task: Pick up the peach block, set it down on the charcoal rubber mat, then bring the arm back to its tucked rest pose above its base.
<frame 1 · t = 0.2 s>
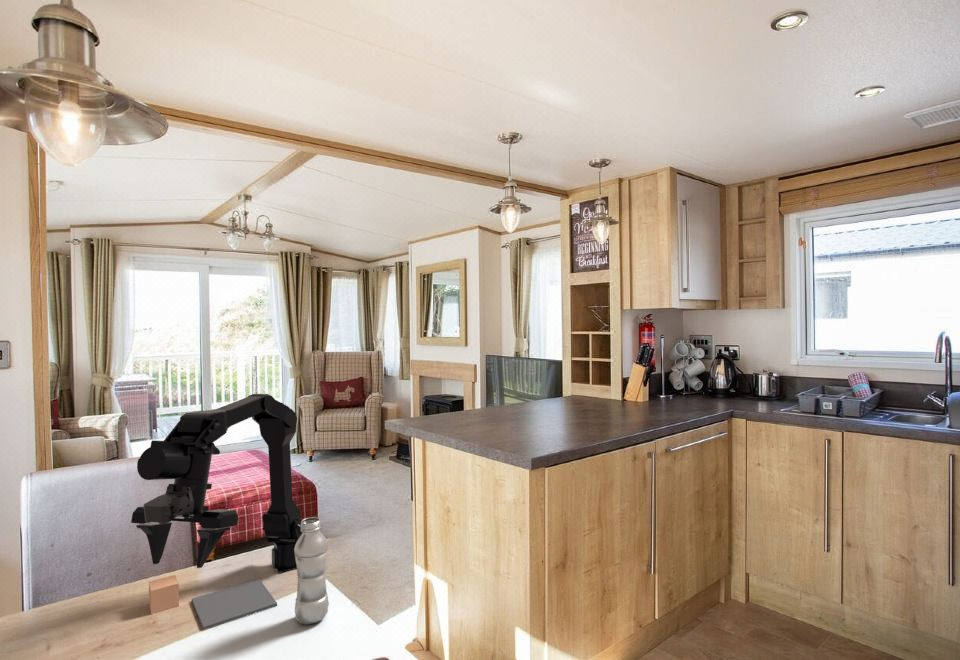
hand: (177, 565, 96), 15 cm above the table, tool pointing down, fingers open, 9 cm apart
charcoal mat: (233, 603, 111), on the table
peach block: (163, 605, 111), on the table
plastic bottle: (312, 620, 105), on the table
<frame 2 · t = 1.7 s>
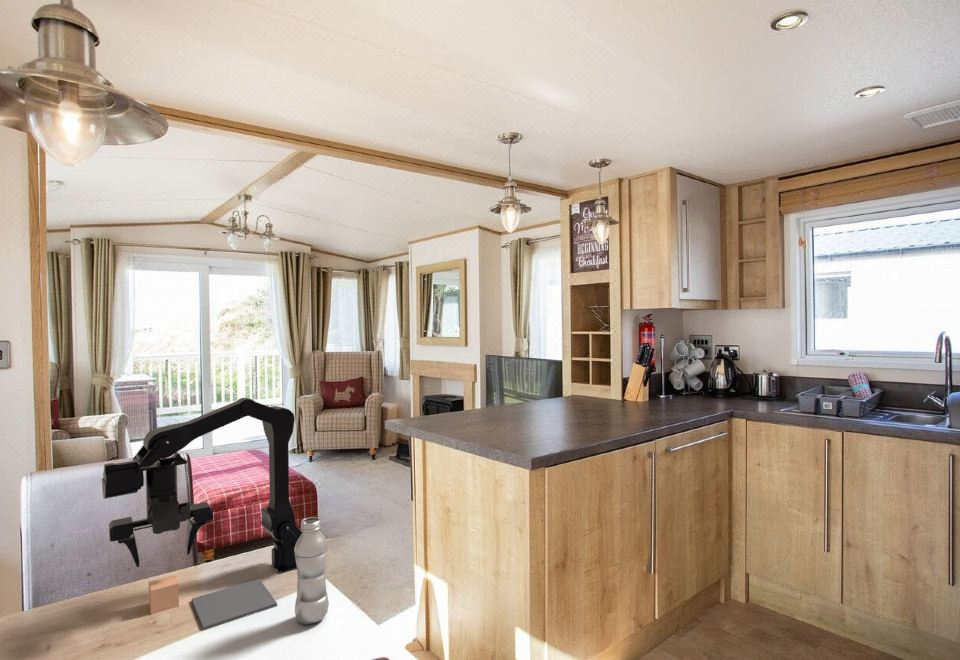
hand: (163, 560, 111), 10 cm above the table, tool pointing down, fingers open, 9 cm apart
nothing on the table moved.
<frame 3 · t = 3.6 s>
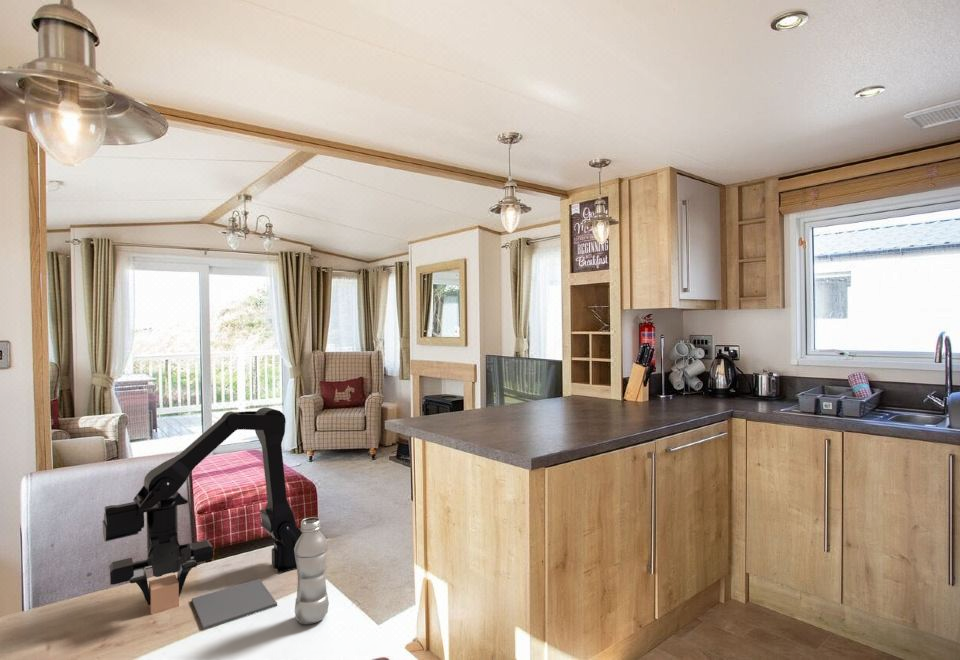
hand: (163, 600, 111), 1 cm above the table, tool pointing down, fingers closed on peach block, 5 cm apart
peach block: (163, 605, 111), on the table, touching gripper
everything else where it was.
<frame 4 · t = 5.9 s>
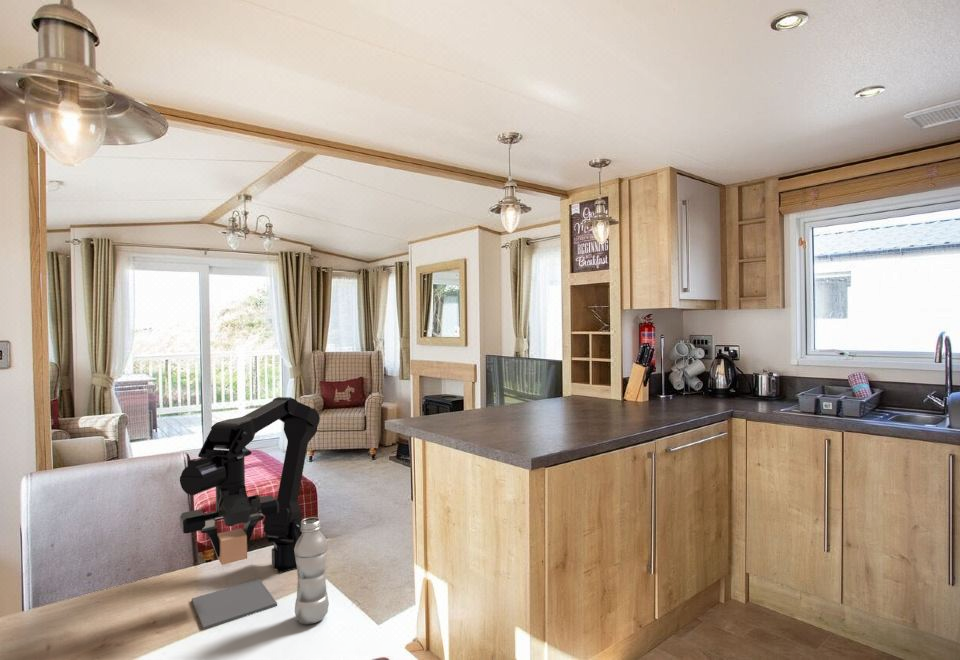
hand: (231, 552, 112), 11 cm above the table, tool pointing down, fingers closed on peach block, 5 cm apart
peach block: (232, 557, 111), point 10 cm above the table, touching gripper
everything else where it was.
when the fingers open (3 cm above the table, at t = 8.2 s): peach block drops 1 cm, resting on charcoal mat.
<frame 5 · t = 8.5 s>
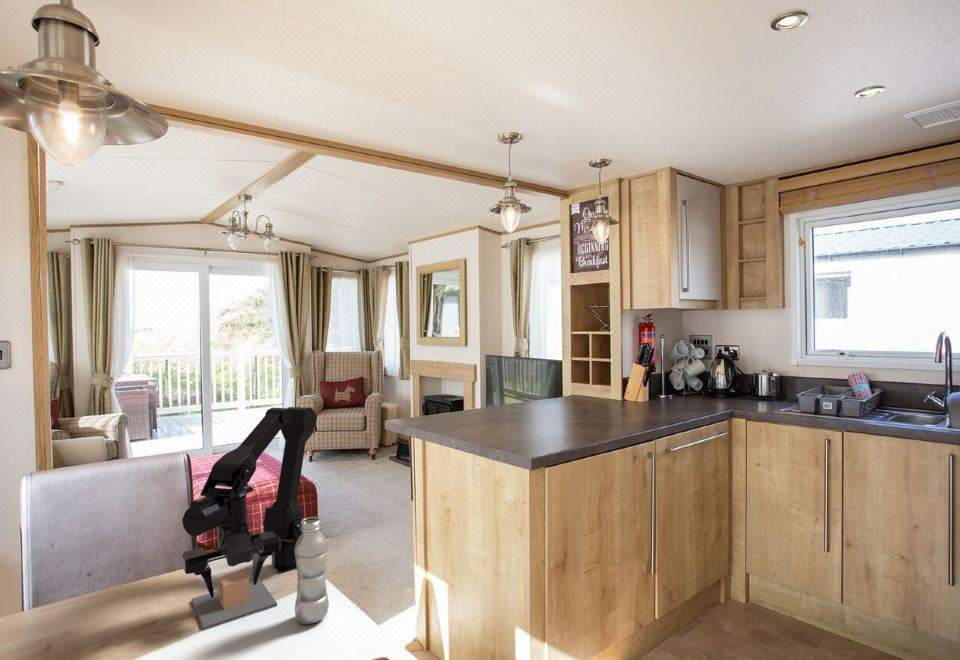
hand: (233, 590, 111), 3 cm above the table, tool pointing down, fingers open, 8 cm apart
peach block: (234, 600, 111), point 1 cm above the table, touching charcoal mat
everything else where it was.
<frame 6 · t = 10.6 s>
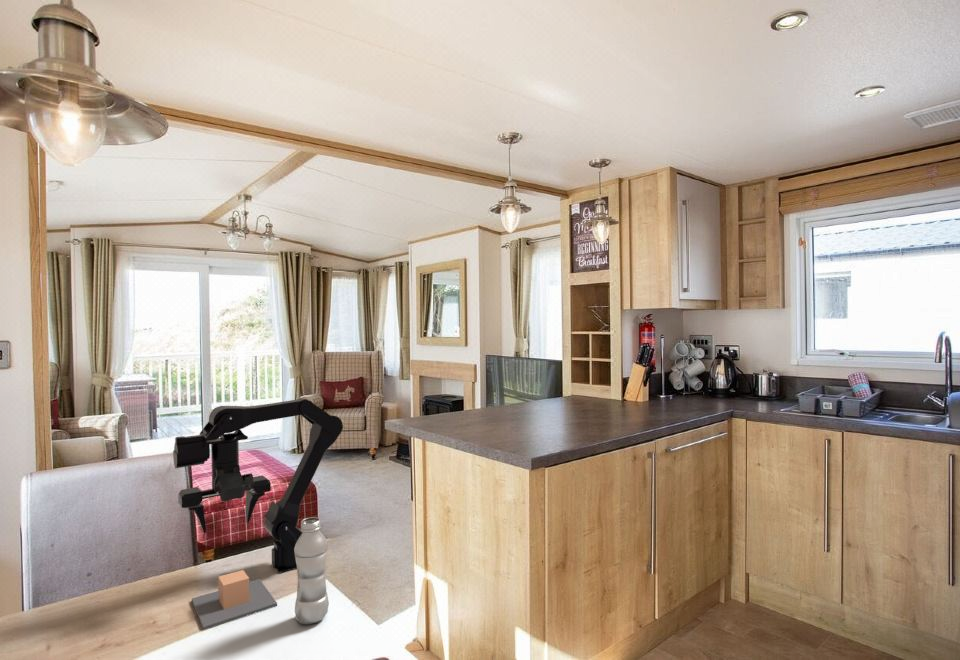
hand: (226, 527, 121), 13 cm above the table, tool pointing down, fingers open, 9 cm apart
nothing on the table moved.
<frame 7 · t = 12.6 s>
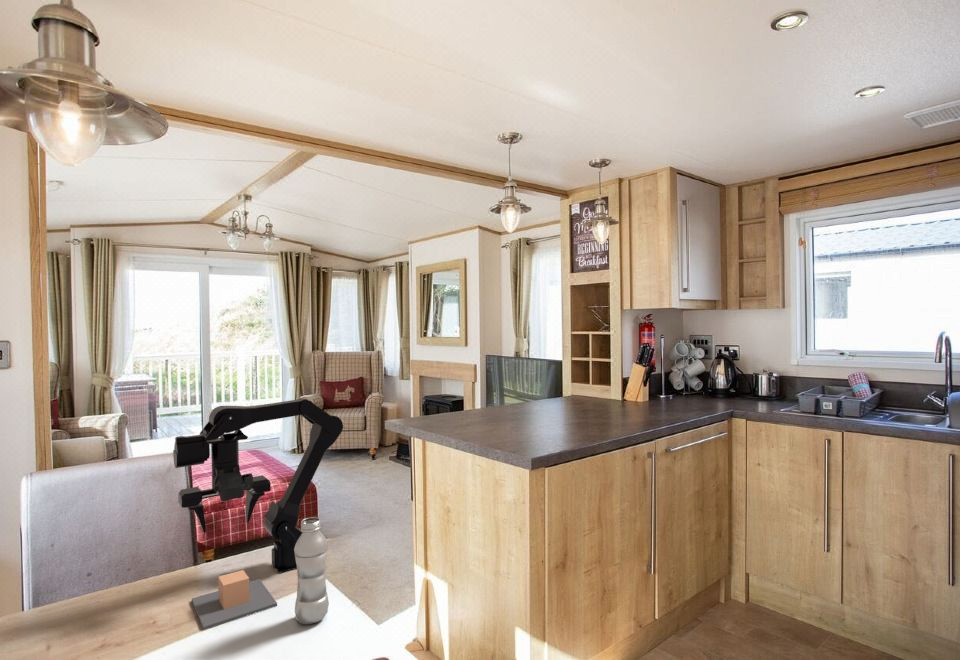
hand: (226, 527, 121), 13 cm above the table, tool pointing down, fingers open, 9 cm apart
nothing on the table moved.
at the end: peach block inside the target area on the charcoal mat (0.0 cm from its centre), point 0.6 cm above the charcoal mat's base; peach block tilted 0°; the gripper is holding nothing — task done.
